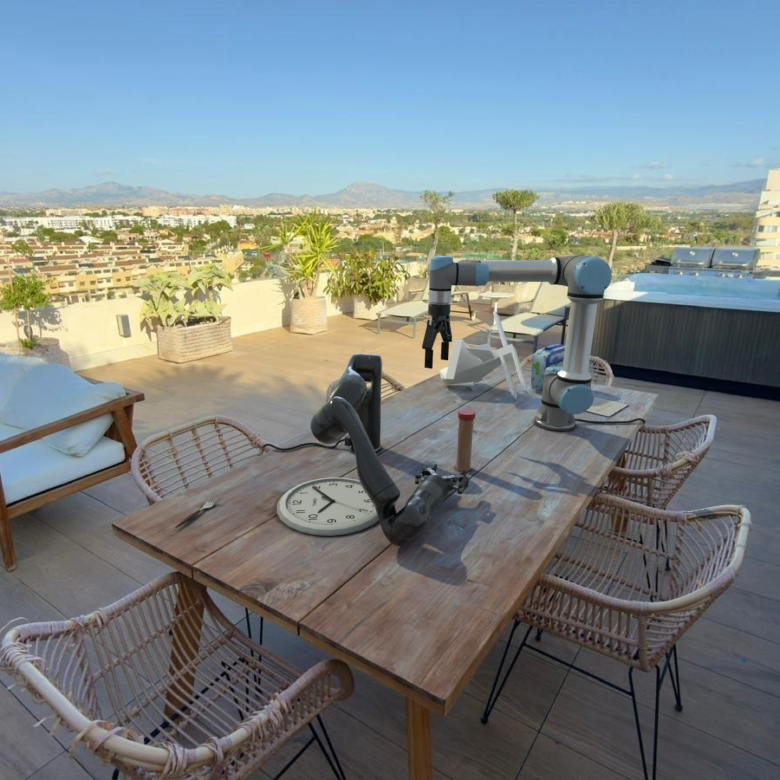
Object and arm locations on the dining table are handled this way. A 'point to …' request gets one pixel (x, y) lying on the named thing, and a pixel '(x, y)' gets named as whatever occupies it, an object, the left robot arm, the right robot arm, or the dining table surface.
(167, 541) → the dining table surface
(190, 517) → the fork
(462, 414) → the lid
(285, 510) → the wall clock
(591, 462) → the dining table surface
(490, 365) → the white plastic object
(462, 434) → the wooden cylinder
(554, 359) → the lunch box
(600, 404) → the invitation card
